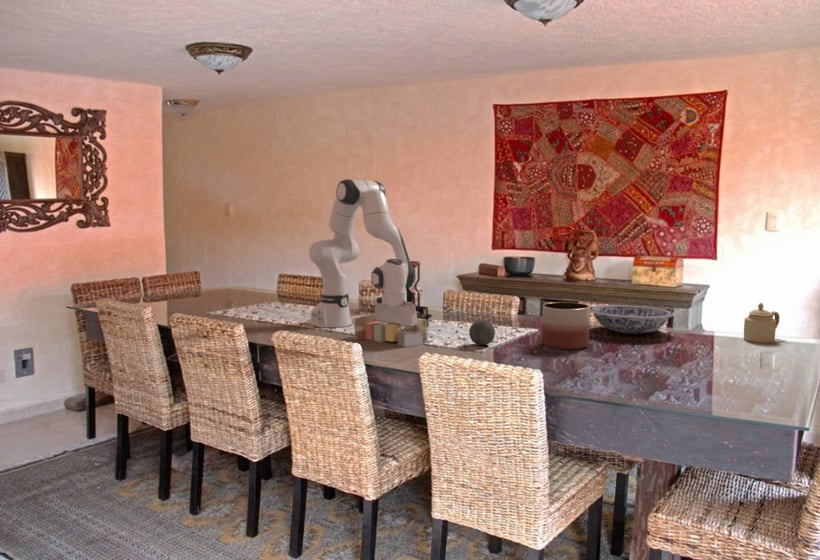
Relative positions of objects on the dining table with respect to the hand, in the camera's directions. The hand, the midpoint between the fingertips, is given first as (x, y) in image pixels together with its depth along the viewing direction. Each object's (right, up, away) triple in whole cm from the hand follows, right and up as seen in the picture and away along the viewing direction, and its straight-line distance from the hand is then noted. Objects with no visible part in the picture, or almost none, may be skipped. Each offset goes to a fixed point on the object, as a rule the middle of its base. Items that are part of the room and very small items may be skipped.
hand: (395, 334), depth 265 cm
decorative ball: (+34, -4, -7) cm, 35 cm away
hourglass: (+3, +6, +74) cm, 74 cm away
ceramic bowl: (+98, -1, +14) cm, 99 cm away
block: (+6, -4, -5) cm, 8 cm away
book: (0, -2, 0) cm, 2 cm away
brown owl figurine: (+7, -1, +23) cm, 24 cm away
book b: (-5, -3, +5) cm, 7 cm away
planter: (+66, -4, -9) cm, 66 cm away
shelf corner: (-2, -3, +2) cm, 4 cm away
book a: (-9, -2, +8) cm, 12 cm away
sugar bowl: (+145, -2, -1) cm, 145 cm away
